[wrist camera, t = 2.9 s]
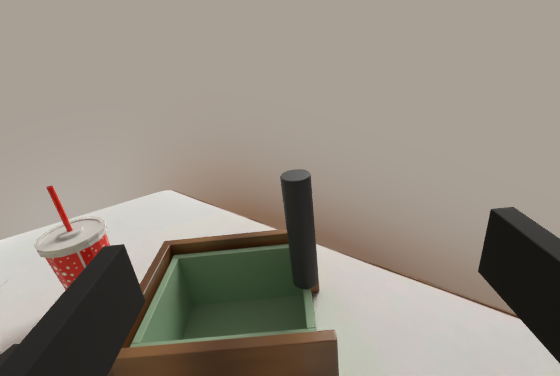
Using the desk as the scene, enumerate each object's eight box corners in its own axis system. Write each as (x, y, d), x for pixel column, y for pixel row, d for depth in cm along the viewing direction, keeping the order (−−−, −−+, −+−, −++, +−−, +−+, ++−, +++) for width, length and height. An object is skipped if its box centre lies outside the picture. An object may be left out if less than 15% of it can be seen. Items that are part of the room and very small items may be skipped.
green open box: (315, 294, 32) (304, 149, 25) (332, 397, 22) (320, 211, 16) (189, 305, 32) (146, 166, 26) (154, 411, 23) (72, 236, 16)
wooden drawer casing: (318, 286, 33) (313, 225, 30) (340, 416, 21) (337, 340, 18) (183, 298, 33) (164, 240, 30) (133, 431, 22) (95, 361, 19)
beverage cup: (126, 273, 38) (83, 168, 32) (137, 301, 34) (90, 185, 28) (69, 298, 35) (11, 188, 29) (73, 333, 31) (5, 210, 25)
